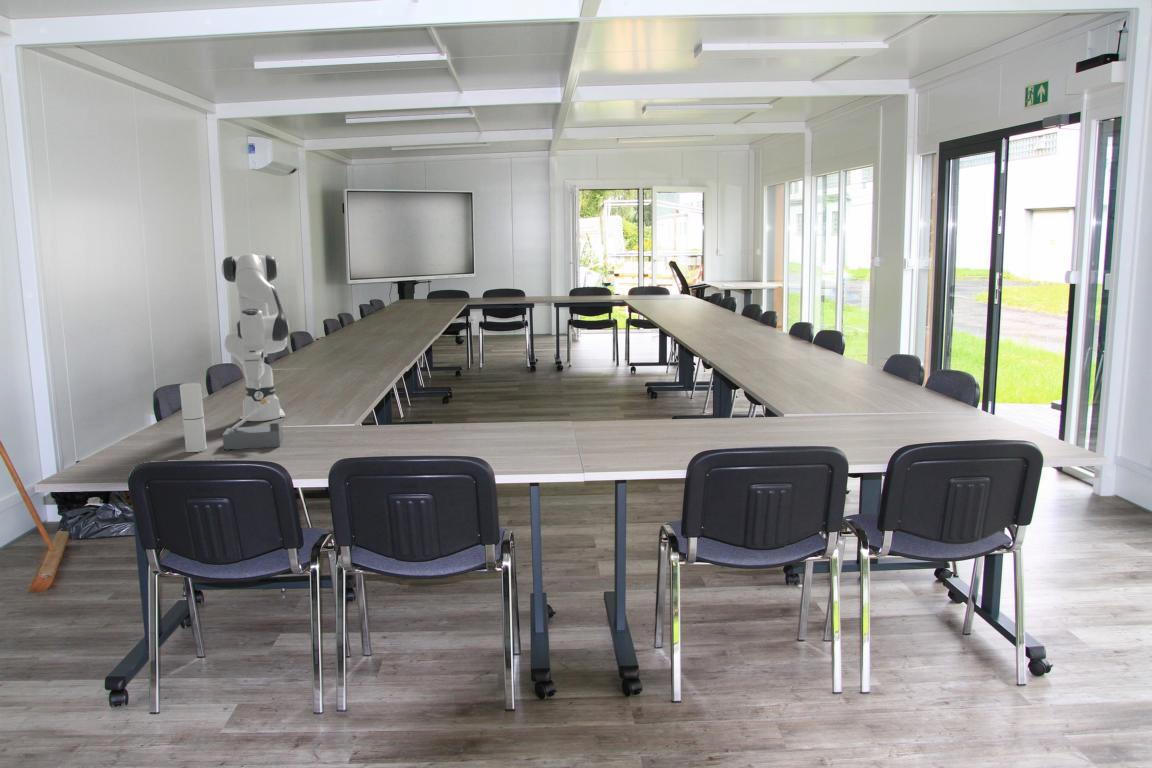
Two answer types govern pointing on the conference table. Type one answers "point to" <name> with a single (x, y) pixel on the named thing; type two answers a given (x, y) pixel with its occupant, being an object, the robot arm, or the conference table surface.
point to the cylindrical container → (193, 417)
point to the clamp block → (253, 437)
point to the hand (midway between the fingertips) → (257, 388)
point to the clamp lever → (264, 404)
